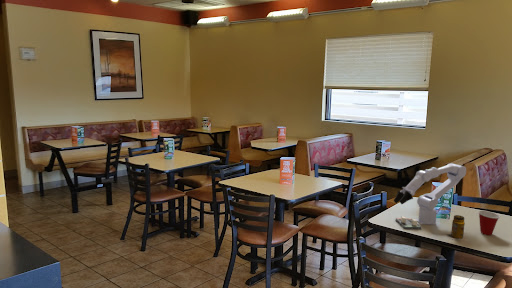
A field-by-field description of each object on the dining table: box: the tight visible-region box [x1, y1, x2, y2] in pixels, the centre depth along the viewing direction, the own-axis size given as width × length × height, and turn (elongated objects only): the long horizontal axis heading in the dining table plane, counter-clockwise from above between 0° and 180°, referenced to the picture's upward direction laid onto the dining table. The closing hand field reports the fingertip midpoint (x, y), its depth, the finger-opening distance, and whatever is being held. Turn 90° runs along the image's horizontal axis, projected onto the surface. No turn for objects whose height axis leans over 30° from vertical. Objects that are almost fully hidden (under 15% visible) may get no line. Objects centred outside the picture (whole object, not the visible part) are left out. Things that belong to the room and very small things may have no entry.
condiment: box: [444, 214, 467, 240], centre depth 219 cm, size 7×8×12 cm
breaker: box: [411, 218, 418, 225], centre depth 232 cm, size 2×3×3 cm, turn 0°
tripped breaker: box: [400, 216, 407, 223], centre depth 236 cm, size 2×3×3 cm, turn 0°
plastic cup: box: [478, 210, 501, 236], centre depth 225 cm, size 11×11×12 cm
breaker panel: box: [395, 217, 422, 230], centre depth 237 cm, size 10×14×2 cm
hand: (397, 202), depth 232 cm, fingers open, 7 cm apart
